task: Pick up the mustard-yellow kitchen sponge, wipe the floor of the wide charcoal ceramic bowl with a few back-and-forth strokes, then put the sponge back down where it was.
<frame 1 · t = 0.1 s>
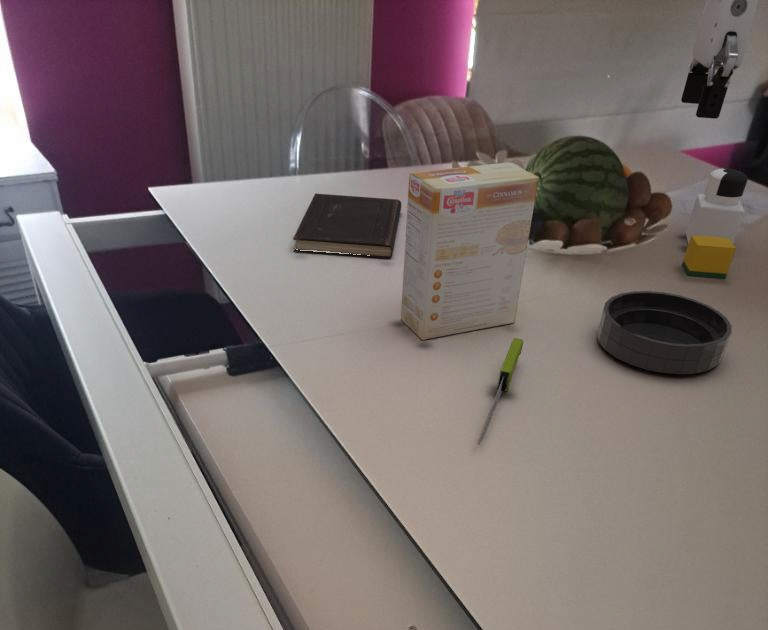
hand: (698, 110, 110), 22 cm above the table, tool pointing down, fingers open, 9 cm apart
medicine bottle: (706, 244, 132), on the table
bowl: (657, 348, 99), on the table
kitchen knife: (497, 405, 87), on the table
sponge: (703, 271, 121), on the table
coffeecake box: (457, 322, 103), on the table
hardcover book: (350, 232, 128), on the table
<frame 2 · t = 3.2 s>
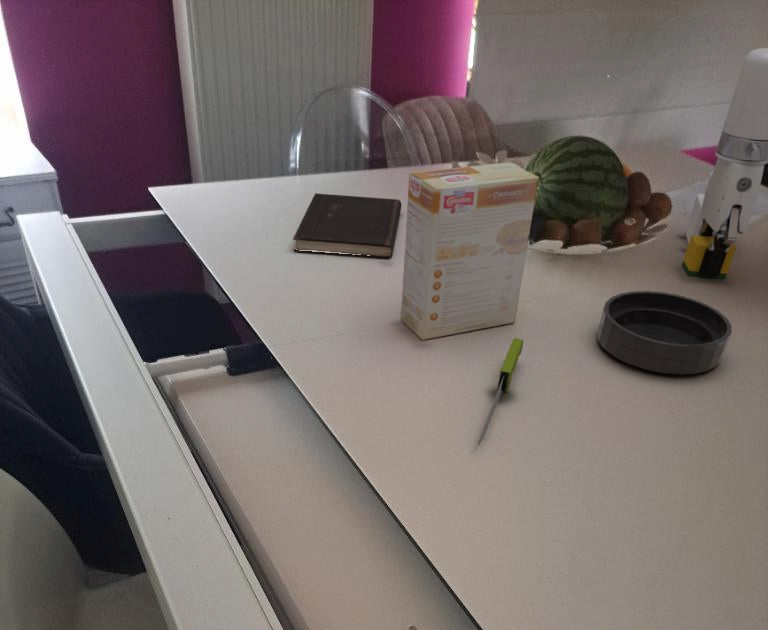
hand: (704, 267, 121), 1 cm above the table, tool pointing down, fingers closed on sponge, 4 cm apart
sponge: (703, 271, 121), on the table, touching gripper
everything else where it was.
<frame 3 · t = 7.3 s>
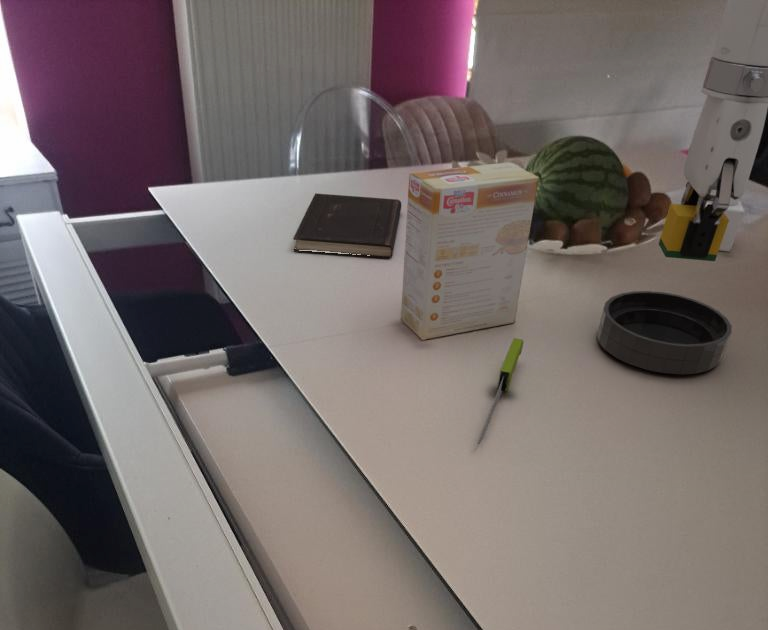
hand: (688, 246, 91), 13 cm above the table, tool pointing down, fingers closed on sponge, 4 cm apart
sponge: (686, 252, 92), point 13 cm above the table, touching gripper
everything else where it was.
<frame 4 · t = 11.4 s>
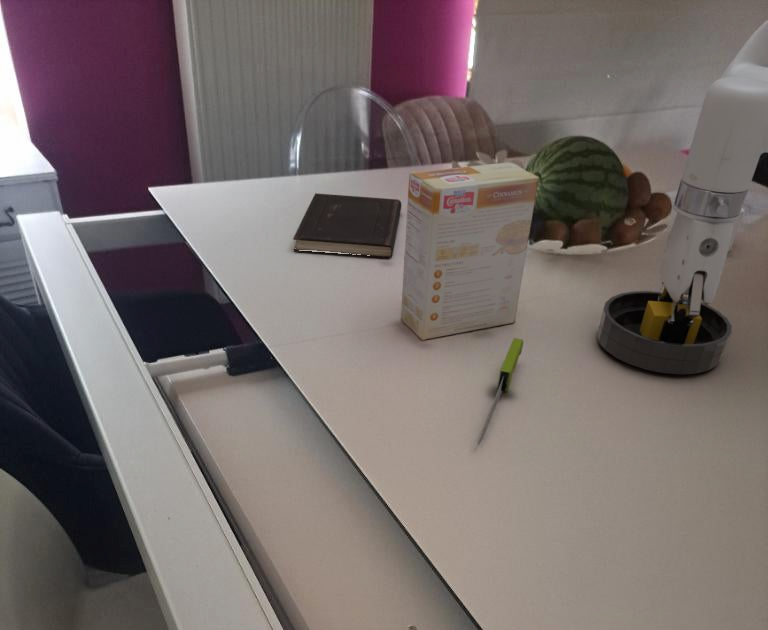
hand: (665, 339, 99), 1 cm above the table, tool pointing down, fingers closed on sponge, 4 cm apart
sponge: (663, 344, 99), point 1 cm above the table, touching gripper
everything else where it was.
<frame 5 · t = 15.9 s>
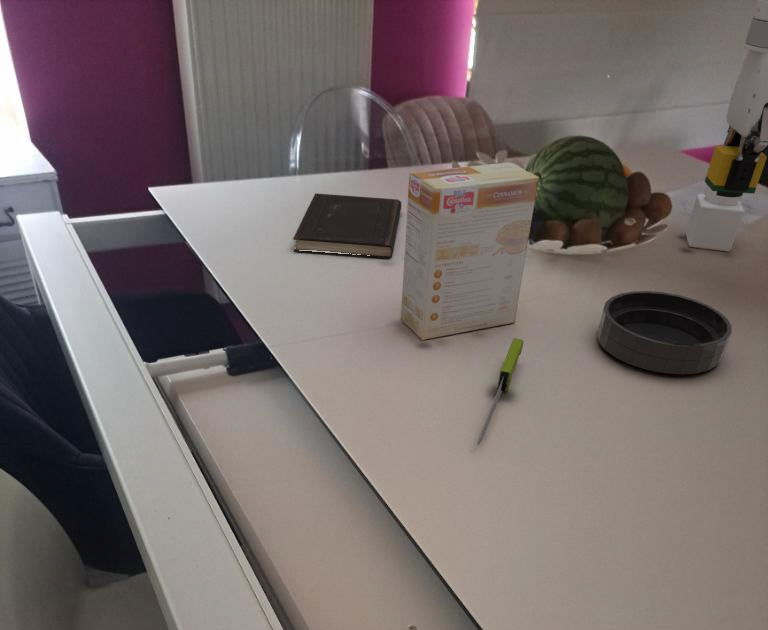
hand: (730, 183, 108), 15 cm above the table, tool pointing down, fingers closed on sponge, 4 cm apart
sponge: (729, 187, 108), point 14 cm above the table, touching gripper
everything else where it was.
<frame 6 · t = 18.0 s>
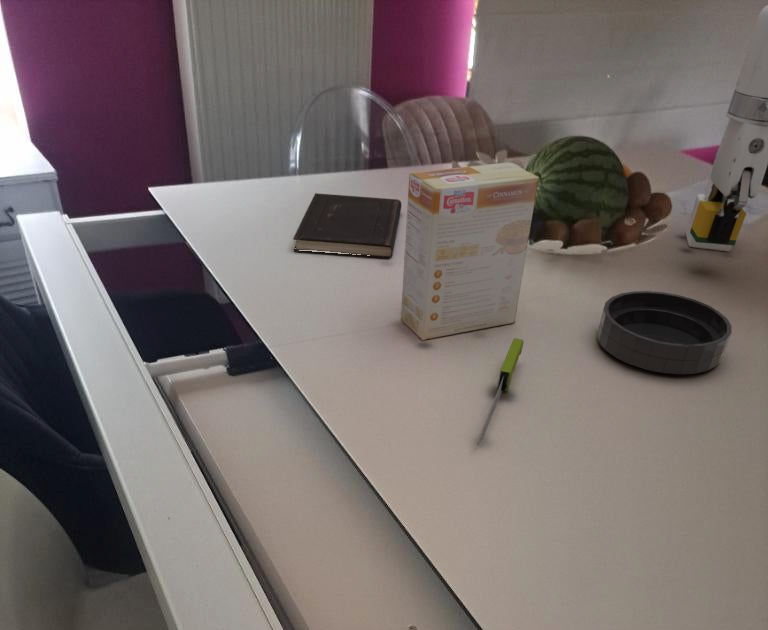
hand: (713, 235, 117), 6 cm above the table, tool pointing down, fingers closed on sponge, 4 cm apart
sponge: (711, 238, 118), point 5 cm above the table, touching gripper
everything else where it was.
when the fingers open (1 cm above the table, at t = 19.6 s): sponge stays where it is, on the table.
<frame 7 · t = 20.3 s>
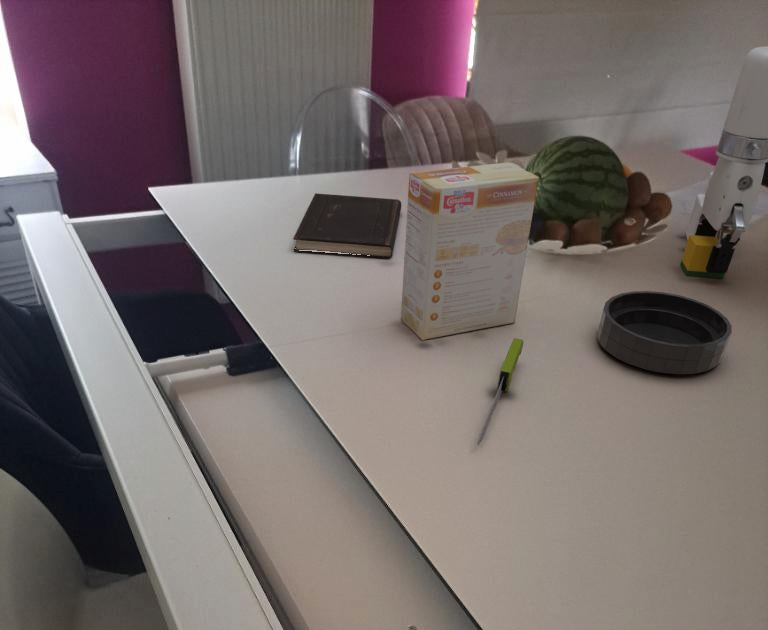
hand: (708, 260, 120), 2 cm above the table, tool pointing down, fingers open, 9 cm apart
sponge: (701, 271, 121), on the table
everything else where it was.
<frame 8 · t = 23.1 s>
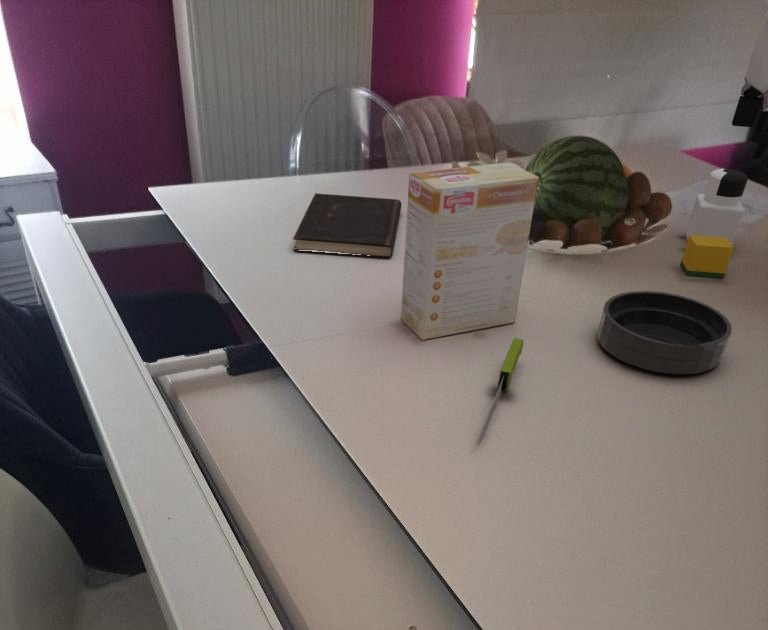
hand: (751, 134, 109), 20 cm above the table, tool pointing down, fingers open, 9 cm apart
nothing on the table moved.
at the end: the gripper is holding nothing; sponge tilted 0° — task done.
